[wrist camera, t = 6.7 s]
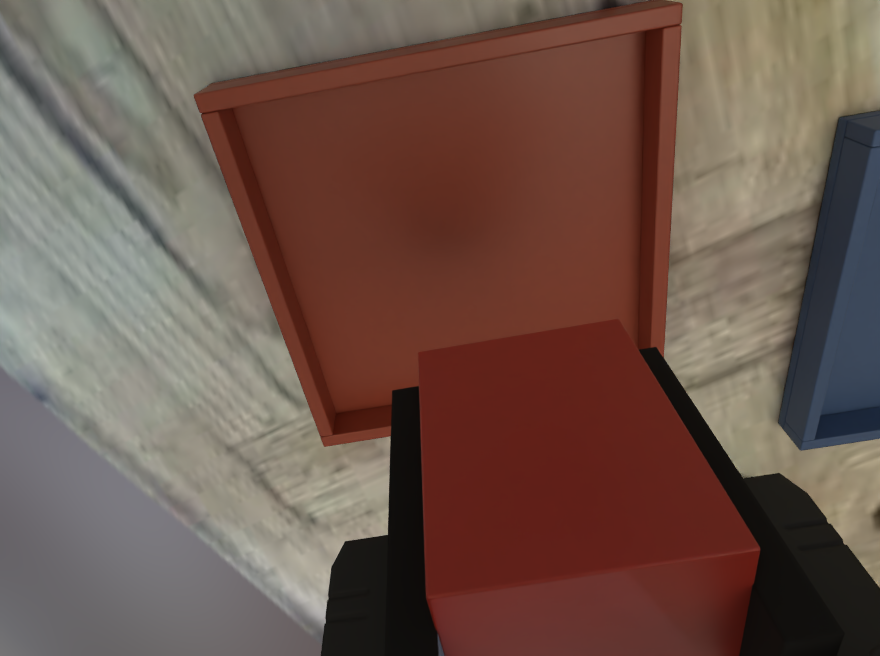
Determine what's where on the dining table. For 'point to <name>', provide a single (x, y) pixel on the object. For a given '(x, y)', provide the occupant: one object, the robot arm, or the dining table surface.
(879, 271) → the blue tray
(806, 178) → the dining table surface
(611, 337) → the red block
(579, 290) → the red tray
